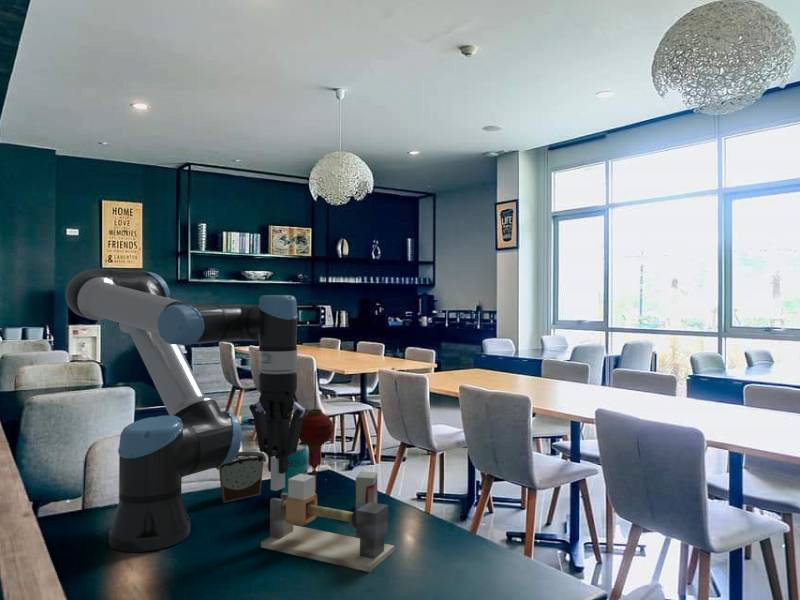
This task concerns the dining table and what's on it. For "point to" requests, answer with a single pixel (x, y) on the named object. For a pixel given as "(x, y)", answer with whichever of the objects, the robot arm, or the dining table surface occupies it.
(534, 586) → the dining table surface
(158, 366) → the robot arm
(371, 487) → the small box
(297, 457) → the beverage can
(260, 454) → the food container
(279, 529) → the cord rig
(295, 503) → the two-tone block
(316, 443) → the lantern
